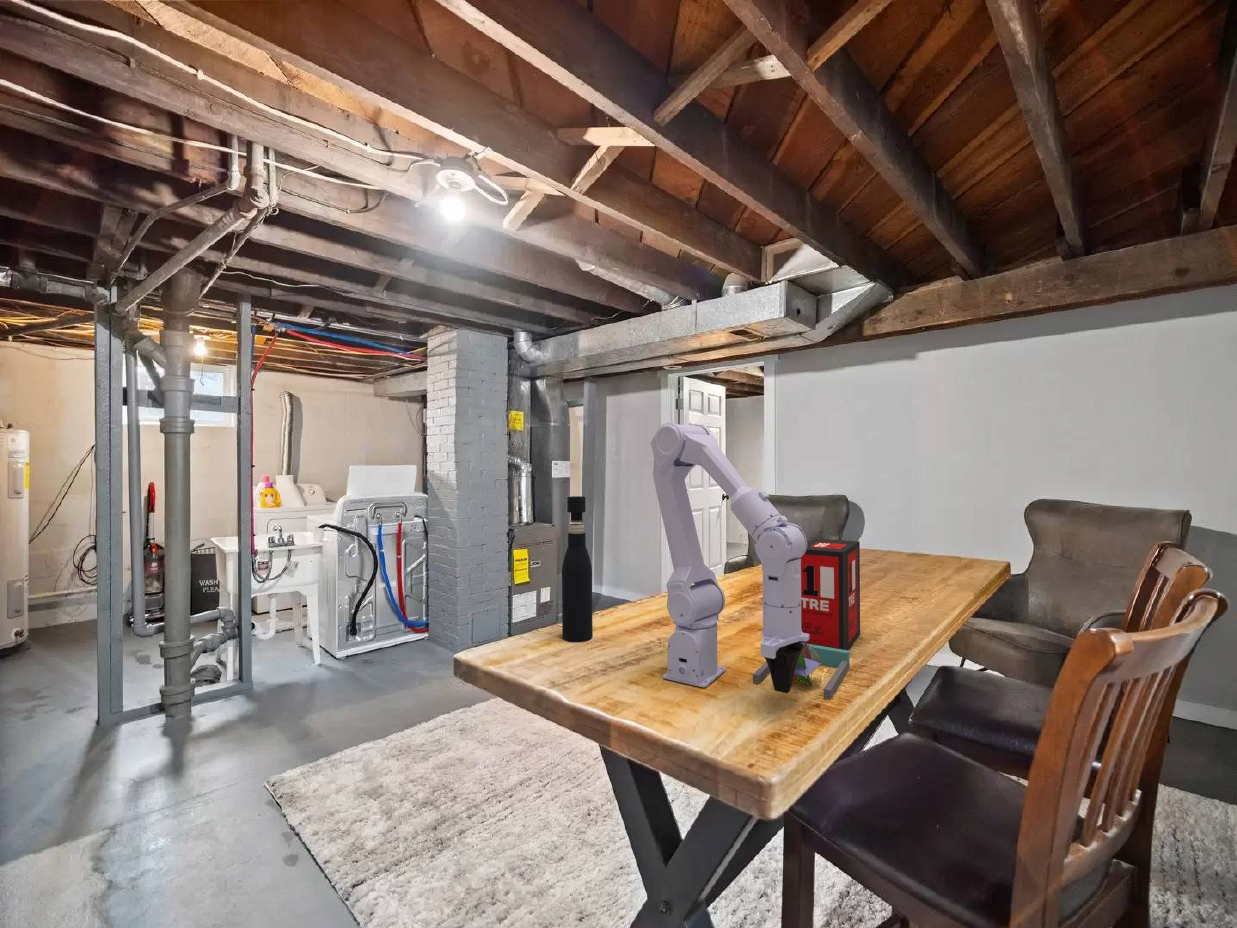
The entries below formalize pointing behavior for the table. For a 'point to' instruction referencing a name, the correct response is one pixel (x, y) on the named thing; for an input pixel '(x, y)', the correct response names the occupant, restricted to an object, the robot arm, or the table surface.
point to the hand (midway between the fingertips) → (782, 690)
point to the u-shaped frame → (827, 657)
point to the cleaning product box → (831, 593)
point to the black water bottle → (576, 579)
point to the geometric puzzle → (806, 664)
